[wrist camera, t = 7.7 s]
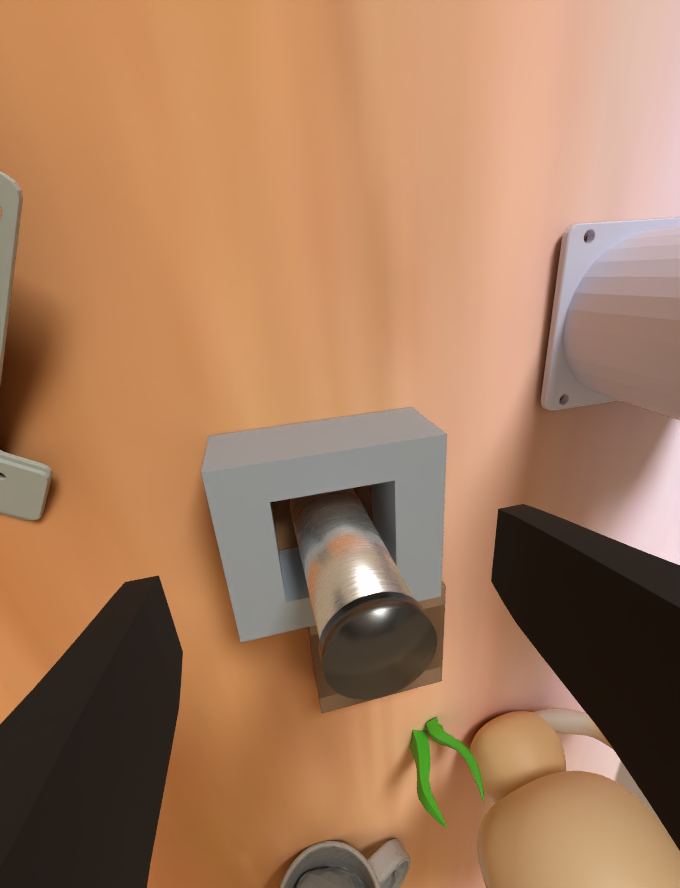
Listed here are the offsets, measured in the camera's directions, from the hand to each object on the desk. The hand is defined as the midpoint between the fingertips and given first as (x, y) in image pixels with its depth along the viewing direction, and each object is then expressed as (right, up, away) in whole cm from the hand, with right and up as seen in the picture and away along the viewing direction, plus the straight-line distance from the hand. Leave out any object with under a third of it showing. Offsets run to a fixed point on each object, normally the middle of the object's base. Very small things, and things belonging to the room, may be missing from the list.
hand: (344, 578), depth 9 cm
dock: (-1, 0, +11) cm, 11 cm away
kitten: (+11, -18, +22) cm, 30 cm away
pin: (-1, 0, +11) cm, 11 cm away
